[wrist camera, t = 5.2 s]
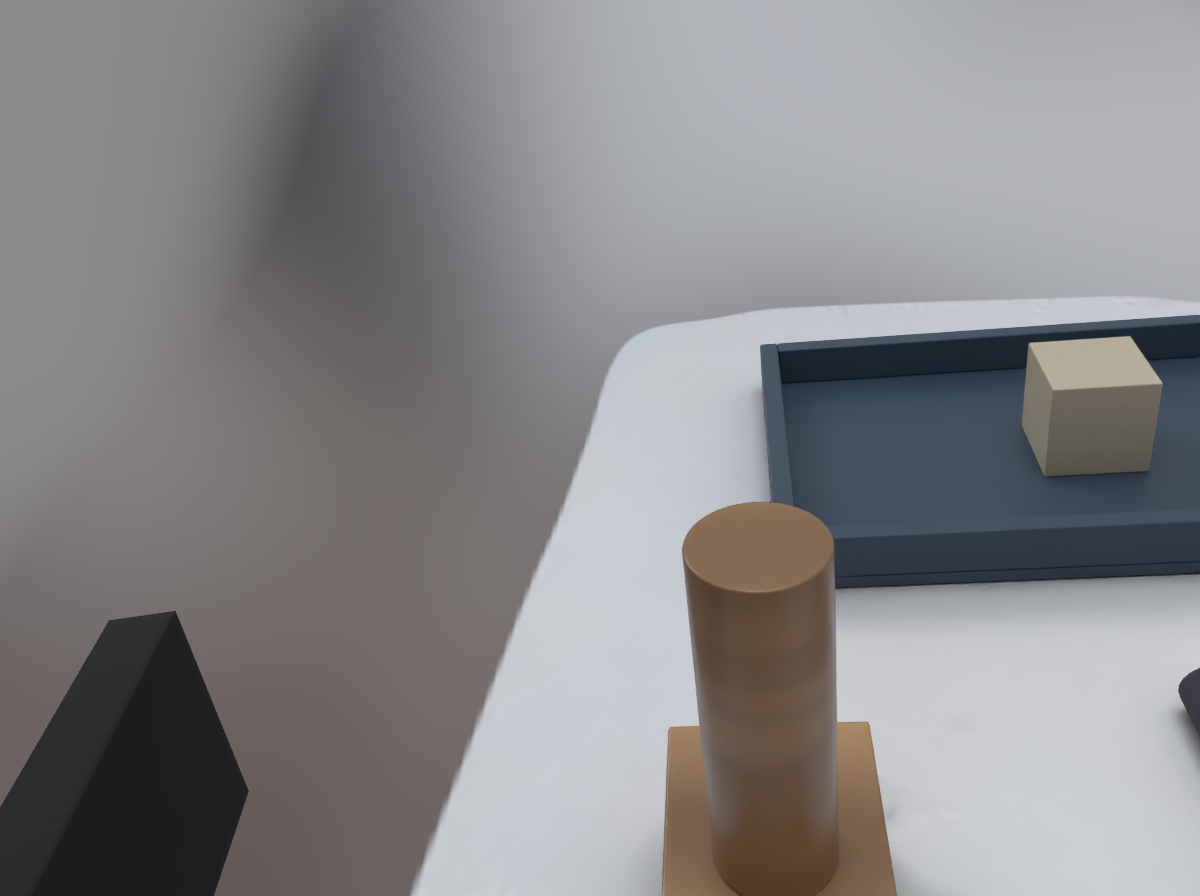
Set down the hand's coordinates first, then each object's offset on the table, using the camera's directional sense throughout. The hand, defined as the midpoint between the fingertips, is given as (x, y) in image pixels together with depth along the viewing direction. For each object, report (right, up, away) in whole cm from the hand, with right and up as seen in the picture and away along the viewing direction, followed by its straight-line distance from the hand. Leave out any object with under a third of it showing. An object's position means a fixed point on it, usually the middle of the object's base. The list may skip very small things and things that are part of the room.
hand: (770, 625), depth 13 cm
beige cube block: (+18, +2, +34) cm, 39 cm away
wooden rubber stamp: (+3, -11, +17) cm, 21 cm away
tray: (+17, +2, +35) cm, 39 cm away
